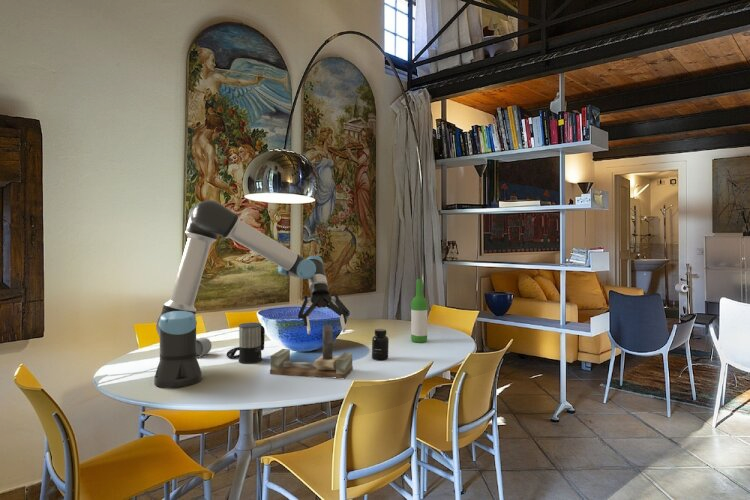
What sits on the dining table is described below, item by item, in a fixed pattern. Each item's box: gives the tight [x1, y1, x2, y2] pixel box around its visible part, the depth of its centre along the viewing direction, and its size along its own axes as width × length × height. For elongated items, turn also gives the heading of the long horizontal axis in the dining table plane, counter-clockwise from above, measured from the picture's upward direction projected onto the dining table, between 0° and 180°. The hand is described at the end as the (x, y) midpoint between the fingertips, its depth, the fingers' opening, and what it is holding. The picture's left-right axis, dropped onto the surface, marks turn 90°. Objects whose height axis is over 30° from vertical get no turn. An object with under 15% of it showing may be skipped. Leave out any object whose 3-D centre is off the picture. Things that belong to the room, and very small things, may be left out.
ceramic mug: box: [196, 337, 213, 359], centre depth 196 cm, size 11×8×8 cm
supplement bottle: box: [371, 328, 390, 361], centre depth 192 cm, size 7×7×12 cm
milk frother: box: [226, 322, 266, 364], centre depth 190 cm, size 14×16×15 cm
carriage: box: [313, 324, 341, 370], centre depth 171 cm, size 7×9×16 cm
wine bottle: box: [410, 278, 428, 344], centre depth 224 cm, size 8×8×30 cm
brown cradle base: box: [269, 348, 354, 379], centre depth 173 cm, size 28×12×6 cm, turn 78°
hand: (327, 331), depth 177 cm, fingers open, 13 cm apart
